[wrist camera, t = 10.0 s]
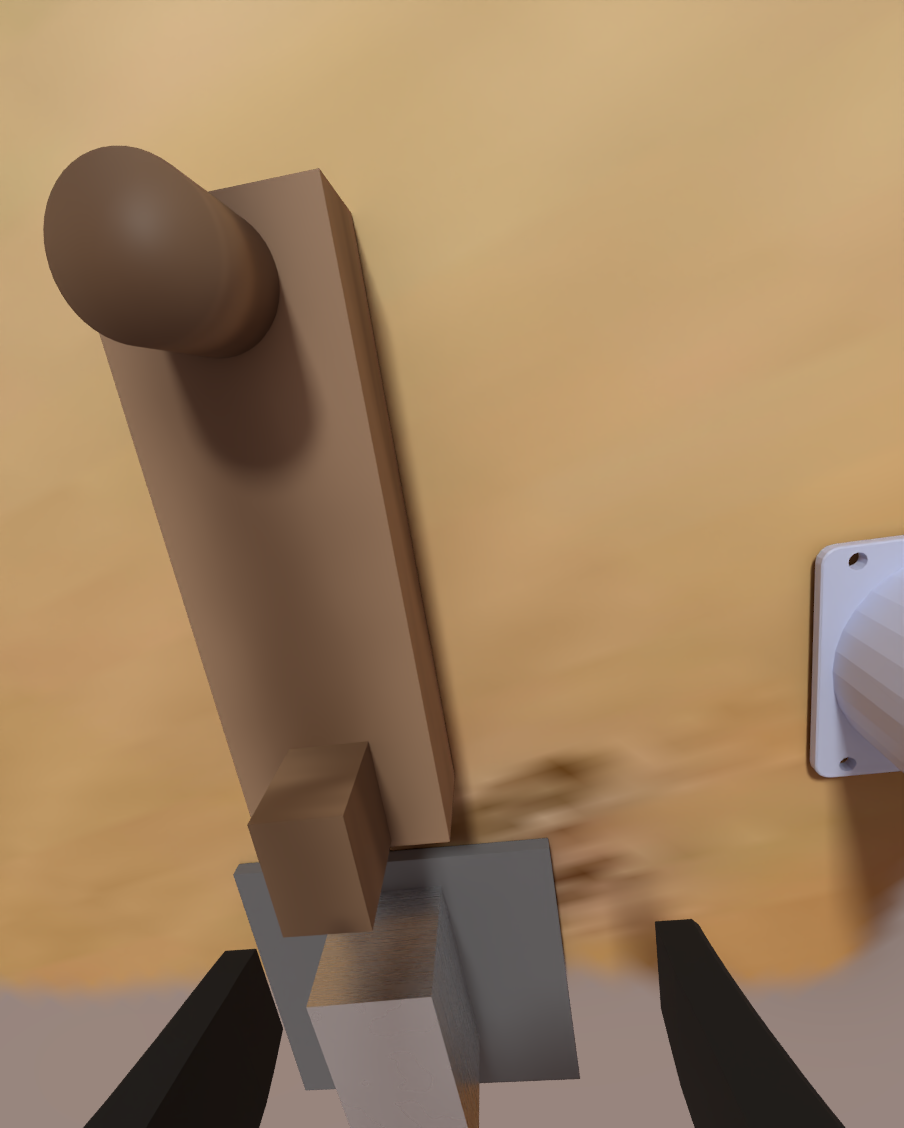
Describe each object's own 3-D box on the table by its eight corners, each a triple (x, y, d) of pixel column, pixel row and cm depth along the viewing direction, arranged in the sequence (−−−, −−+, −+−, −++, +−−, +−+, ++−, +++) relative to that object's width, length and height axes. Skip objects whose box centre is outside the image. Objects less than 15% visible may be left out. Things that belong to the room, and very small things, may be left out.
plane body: (350, 212, 15) (266, 95, 9) (455, 777, 20) (442, 932, 14) (143, 255, 15) (-61, 169, 10) (294, 792, 20) (220, 947, 15)
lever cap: (441, 885, 21) (431, 997, 17) (479, 1037, 23) (478, 1166, 19) (338, 896, 21) (306, 1007, 17) (386, 1044, 23) (366, 1172, 19)
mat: (547, 837, 20) (549, 848, 20) (578, 1064, 24) (579, 1078, 23) (238, 864, 21) (233, 875, 21) (309, 1076, 25) (305, 1090, 24)
